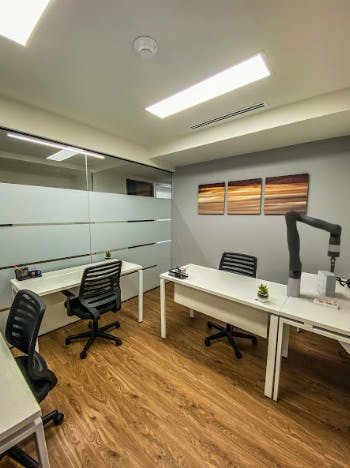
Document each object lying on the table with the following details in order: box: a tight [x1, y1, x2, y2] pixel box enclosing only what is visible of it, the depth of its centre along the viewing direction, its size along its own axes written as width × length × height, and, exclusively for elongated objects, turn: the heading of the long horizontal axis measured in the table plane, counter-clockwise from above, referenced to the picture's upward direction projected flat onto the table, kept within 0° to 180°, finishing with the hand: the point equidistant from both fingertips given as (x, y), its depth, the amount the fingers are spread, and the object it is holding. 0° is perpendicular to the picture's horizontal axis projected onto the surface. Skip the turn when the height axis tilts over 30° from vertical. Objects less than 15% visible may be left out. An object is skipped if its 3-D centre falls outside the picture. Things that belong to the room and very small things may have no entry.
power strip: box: [308, 298, 339, 311], centre depth 159 cm, size 18×7×3 cm, turn 51°
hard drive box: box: [316, 270, 338, 299], centre depth 180 cm, size 16×8×20 cm, turn 168°
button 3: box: [330, 299, 337, 306], centre depth 155 cm, size 3×3×3 cm
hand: (332, 270), depth 158 cm, fingers open, 8 cm apart
